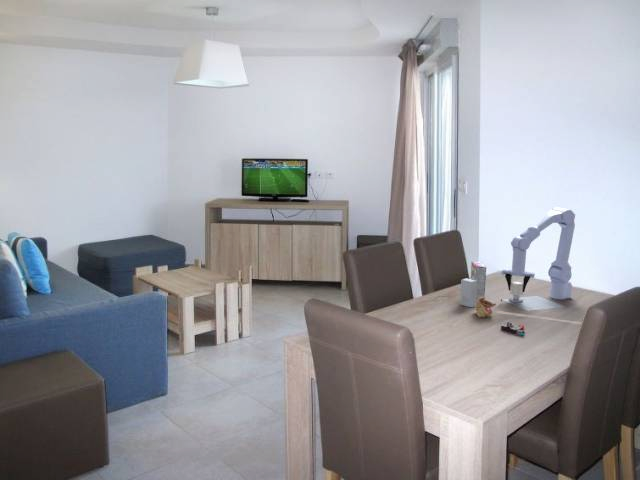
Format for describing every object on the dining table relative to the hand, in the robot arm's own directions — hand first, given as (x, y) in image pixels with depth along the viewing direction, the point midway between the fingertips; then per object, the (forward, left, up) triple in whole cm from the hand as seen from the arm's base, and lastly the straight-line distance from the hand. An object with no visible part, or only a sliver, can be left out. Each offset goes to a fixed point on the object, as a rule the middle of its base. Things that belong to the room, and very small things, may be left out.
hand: (516, 290), depth 286 cm
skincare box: (+24, -3, -6) cm, 25 cm away
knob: (0, 0, -1) cm, 1 cm away
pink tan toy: (+26, +12, -6) cm, 29 cm away
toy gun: (+25, +34, -6) cm, 42 cm away
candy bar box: (+12, -14, -6) cm, 19 cm away
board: (-6, +5, -6) cm, 9 cm away
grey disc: (0, 0, -6) cm, 6 cm away
